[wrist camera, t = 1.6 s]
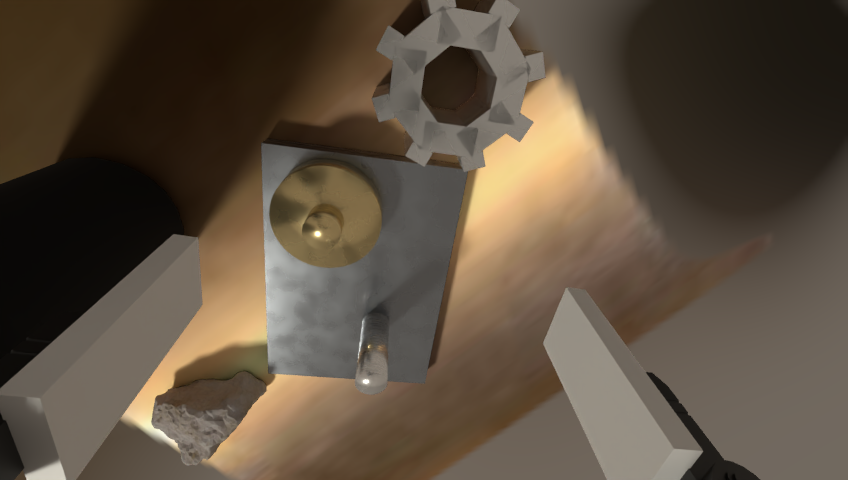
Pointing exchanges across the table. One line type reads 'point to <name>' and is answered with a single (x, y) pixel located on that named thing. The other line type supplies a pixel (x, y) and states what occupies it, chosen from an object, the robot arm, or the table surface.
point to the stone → (205, 413)
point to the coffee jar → (74, 239)
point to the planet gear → (494, 90)
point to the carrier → (355, 260)
